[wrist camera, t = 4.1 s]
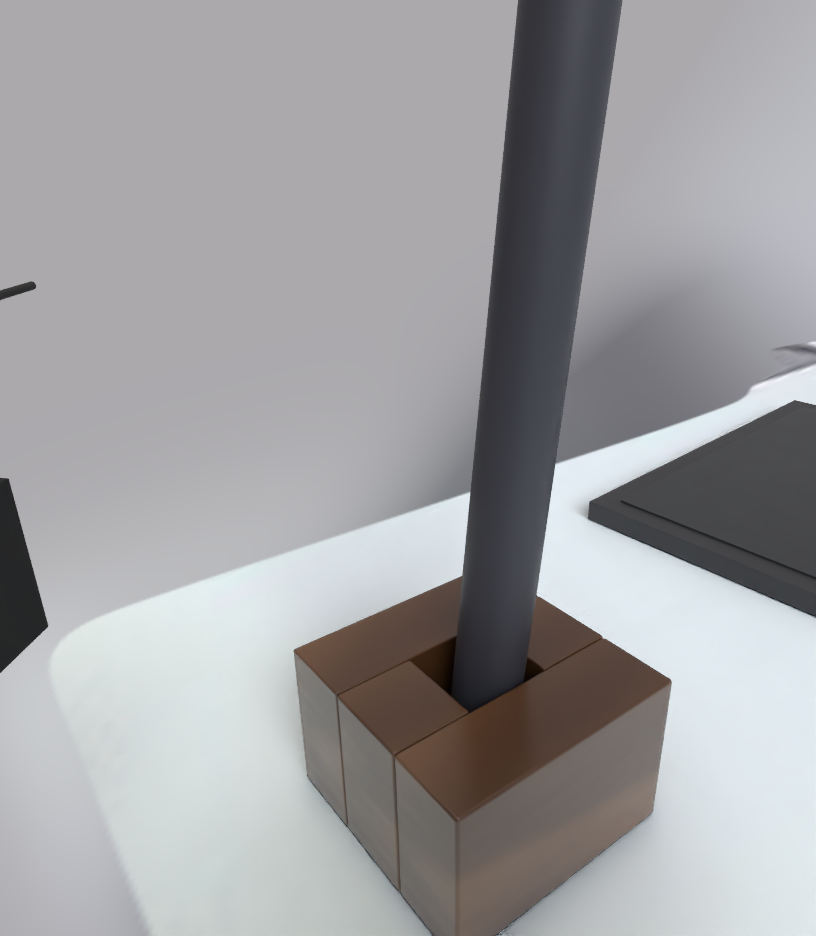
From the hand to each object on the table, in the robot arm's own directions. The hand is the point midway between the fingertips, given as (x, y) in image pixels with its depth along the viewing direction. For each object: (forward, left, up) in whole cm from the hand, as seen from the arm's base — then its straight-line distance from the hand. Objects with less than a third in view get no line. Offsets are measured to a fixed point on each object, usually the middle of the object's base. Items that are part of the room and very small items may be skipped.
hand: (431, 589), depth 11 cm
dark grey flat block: (-22, +21, -11) cm, 32 cm away
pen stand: (-6, +2, -11) cm, 13 cm away
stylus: (-6, +2, -11) cm, 13 cm away
